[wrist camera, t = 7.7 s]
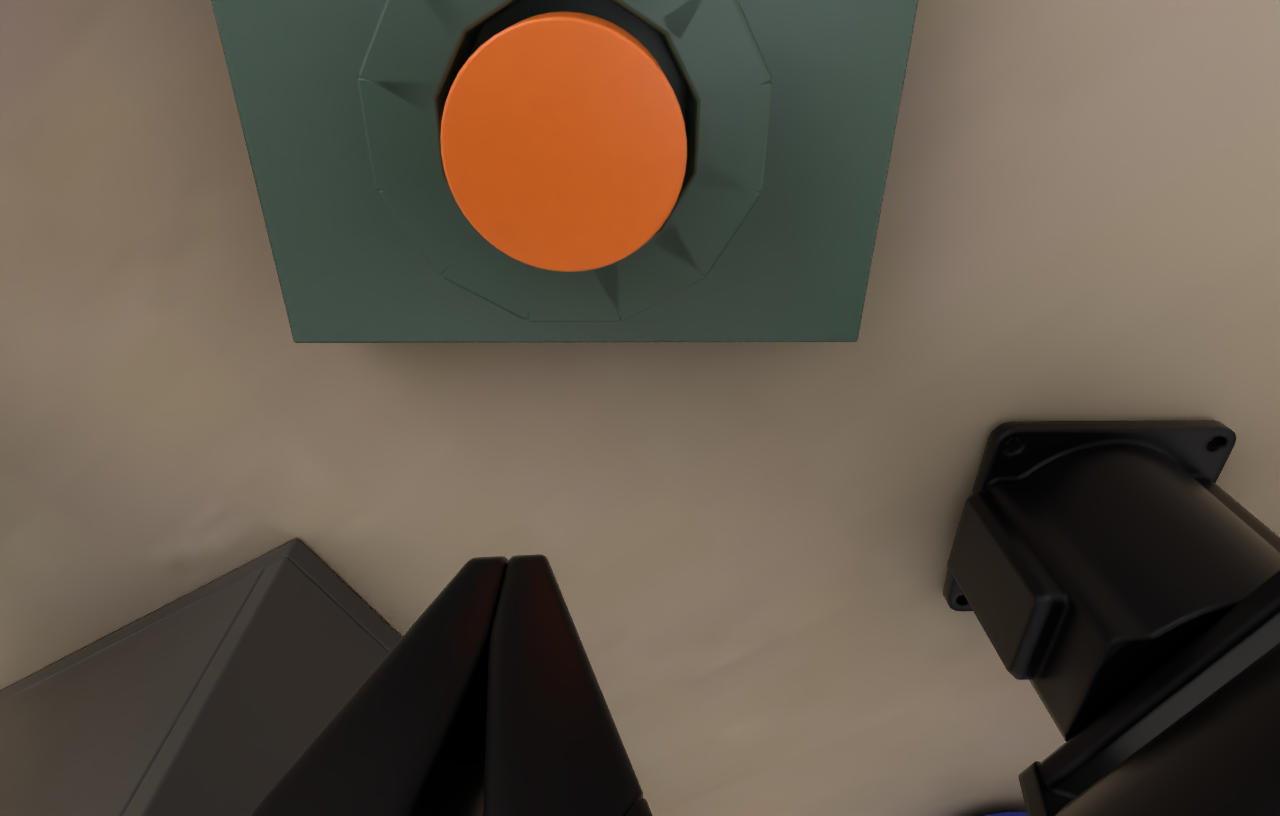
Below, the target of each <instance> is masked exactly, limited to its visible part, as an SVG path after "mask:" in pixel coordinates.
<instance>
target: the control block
mask: <svg viewBox="0 0 1280 816" xmlns="http://www.w3.org/2000/svg"><path fill="white" fill-rule="evenodd" d="M212 4H213V9H214V13H215V17H216V21H217V25H218V29H219V33H220V37H221V42H222V46H223V50H224V54H225V58H226V62H227V66H228V71H229V75H230V79H231V83H232V87H233V91H234V95H235V100H236V104H237V108H238V112H239V116H240V120H241V124H242V128H243V133H244V137H245V141H246V145H247V149H248V153H249V157H250V162H251V166H252V170H253V174H254V178H255V182H256V186H257V191H258V195H259V199H260V203H261V207H262V211H263V215H264V219H265V224H266V228H267V232H268V236H269V240H270V244H271V248H272V253H273V257H274V261H275V265H276V269H277V273H278V277H279V282H280V286H281V290H282V294H283V298H284V302H285V306H286V310H287V315H288V319H289V323H290V327H291V331H292V335H293V339H294V342H296V343H381V342H856V341H857V339H858V334H859V328H860V323H861V317H862V312H863V306H864V300H865V295H866V289H867V284H868V278H869V273H870V267H871V261H872V256H873V250H874V245H875V239H876V234H877V228H878V222H879V217H880V211H881V206H882V200H883V194H884V189H885V183H886V178H887V172H888V167H889V161H890V155H891V150H892V144H893V139H894V133H895V128H896V122H897V116H898V111H899V105H900V100H901V94H902V88H903V83H904V77H905V72H906V66H907V61H908V55H909V49H910V44H911V38H912V33H913V27H914V22H915V16H916V10H917V5H918V0H212ZM558 11H571V12H582V13H586V14H590V15H594V16H598V17H600V18H603V19H605V20H608V21H610V22H612V23H614V24H616V25H618V26H619V27H621V28H623V29H625V30H626V31H627V32H629V33H630V34H631V35H633V36H634V37H635V38H636V39H638V40H639V41H640V42H641V43H642V44H643V45H644V46H645V47H646V48H647V49H648V51H649V52H650V53H651V54H652V56H653V57H654V58H655V60H656V61H657V62H658V64H659V66H660V67H661V69H662V71H663V73H664V74H665V76H666V78H667V80H668V81H669V83H670V85H671V87H672V88H673V90H674V93H675V95H676V98H677V100H678V102H679V105H680V108H681V112H682V115H683V119H684V122H685V129H686V136H687V162H686V171H685V176H684V180H683V184H682V188H681V191H680V193H679V196H678V199H677V201H676V204H675V205H674V207H673V209H672V211H671V213H670V215H669V217H668V218H667V219H666V221H665V222H664V224H663V225H662V226H661V228H660V229H659V230H658V231H657V232H656V234H655V235H654V236H653V237H652V238H651V239H650V240H649V241H648V242H647V243H645V244H644V245H643V246H642V247H641V248H639V249H638V250H637V251H635V252H633V253H632V254H630V255H629V256H627V257H626V258H624V259H621V260H619V261H617V262H615V263H613V264H610V265H607V266H604V267H601V268H598V269H592V270H587V271H577V272H561V271H551V270H546V269H541V268H537V267H534V266H531V265H528V264H525V263H523V262H520V261H518V260H516V259H514V258H512V257H510V256H508V255H507V254H505V253H503V252H502V251H500V250H498V249H497V248H496V247H495V246H493V245H492V244H491V243H489V242H488V241H487V240H486V239H485V238H484V237H483V236H482V235H481V234H480V233H479V232H478V231H477V230H476V229H475V228H474V227H473V226H472V225H471V223H470V222H469V221H468V219H467V218H466V217H465V216H464V214H463V212H462V211H461V209H460V207H459V206H458V204H457V202H456V201H455V198H454V196H453V194H452V192H451V189H450V187H449V185H448V181H447V178H446V175H445V172H444V167H443V162H442V156H441V142H440V133H441V120H442V115H443V111H444V106H445V102H446V99H447V96H448V94H449V91H450V88H451V86H452V84H453V82H454V80H455V78H456V76H457V74H458V72H459V71H460V69H461V68H462V67H463V65H464V64H465V63H466V61H467V60H468V58H469V57H470V56H471V55H472V54H473V53H474V52H475V51H476V50H477V49H478V48H479V47H480V46H481V45H482V44H483V43H485V42H486V41H487V40H489V39H490V38H491V37H493V36H494V35H496V34H497V33H499V32H501V31H503V30H505V29H506V28H508V27H510V26H512V25H514V24H516V23H518V22H520V21H521V20H524V19H527V18H529V17H532V16H535V15H539V14H543V13H548V12H558Z"/></svg>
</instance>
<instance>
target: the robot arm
mask: <svg viewBox="0 0 1280 816" xmlns="http://www.w3.org/2000/svg"><path fill="white" fill-rule="evenodd" d="M1012 438H1016V439H1015V441H1014V442H1013V443H1011V444H1010V445H1006V446H1005V444H1006V442H1007V441H1009V440H1010V439H1012ZM1213 438H1214V439H1213ZM1212 439H1213V440H1212ZM1210 440H1212V441H1210ZM1209 441H1210V442H1209ZM1235 441H1236V435H1235V433H1234V432H1233V431H1232V430H1231V429H1229V428H1228V427H1226V426H1225V425H1224V424H1222V423H1221V422H1219V421H1214V420H1212V421H1043V422H1007V423H1003V424H1001V425H999V426H997V427H996V428H995V429H994V430H993V431H992V432H991V434H990V436H989V438H988V442H987V445H986V448H985V452H984V455H983V458H982V462H981V465H980V468H979V472H978V475H977V478H976V482H975V485H974V488H973V492H972V494H971V495H970V496H969V498H968V499H967V500H966V503H965V506H964V510H963V513H962V516H961V520H960V523H959V527H958V530H957V533H956V537H955V540H954V543H953V547H952V550H951V554H950V557H949V560H948V568H949V572H948V575H947V579H946V582H945V585H944V589H943V595H944V597H945V599H946V601H947V603H948V605H949V606H950V608H951V609H953V610H955V611H974V613H975V615H976V616H977V618H978V620H979V622H980V623H981V625H982V627H983V629H984V630H985V632H986V634H987V636H988V637H989V639H990V641H991V643H992V644H993V646H994V648H995V650H996V651H997V653H998V655H999V657H1000V658H1001V660H1002V662H1003V664H1004V665H1005V667H1006V669H1007V670H1008V671H1009V672H1010V673H1011V674H1012V675H1013V676H1014V677H1015V678H1016V679H1019V680H1027V679H1029V680H1030V682H1031V684H1032V685H1033V687H1034V689H1035V690H1036V692H1037V694H1038V695H1039V697H1040V699H1041V700H1042V702H1043V704H1044V705H1045V707H1046V709H1047V710H1048V712H1049V714H1050V715H1051V717H1052V719H1053V721H1054V722H1055V724H1056V726H1057V727H1058V729H1059V731H1060V732H1061V734H1062V736H1063V737H1064V739H1065V741H1066V743H1065V744H1063V745H1062V746H1061V747H1060V748H1058V749H1057V750H1056V751H1055V752H1053V753H1052V754H1051V755H1050V756H1049V757H1047V758H1046V759H1045V760H1044V761H1042V762H1041V763H1040V762H1034V763H1033V764H1032V765H1030V766H1029V767H1028V768H1027V769H1025V770H1024V771H1023V772H1022V773H1021V774H1019V781H1020V785H1021V789H1022V794H1023V798H1024V802H1025V806H1026V810H1027V815H1028V816H1280V538H1279V537H1278V536H1277V535H1276V534H1275V533H1273V532H1272V531H1271V530H1270V529H1269V528H1267V527H1266V526H1265V525H1264V524H1263V523H1261V522H1260V521H1259V520H1258V519H1257V518H1256V517H1254V516H1253V515H1252V514H1251V513H1250V512H1248V511H1247V510H1246V509H1245V508H1244V507H1242V506H1241V505H1240V504H1239V503H1238V502H1236V501H1235V500H1234V499H1233V498H1232V497H1230V496H1229V495H1228V494H1227V493H1226V492H1225V491H1223V490H1222V489H1221V488H1220V487H1219V486H1217V485H1216V484H1215V483H1216V481H1217V479H1218V477H1219V475H1220V473H1221V471H1222V469H1223V467H1224V465H1225V463H1226V461H1227V459H1228V457H1229V455H1230V453H1231V451H1232V449H1233V447H1234V445H1235ZM961 594H963V595H961ZM251 816H652V813H651V811H650V808H649V806H648V803H647V801H646V800H645V799H644V798H643V793H642V790H641V787H640V785H639V782H638V780H637V777H636V775H635V773H634V770H633V768H632V765H631V763H630V760H629V758H628V755H627V753H626V750H625V748H624V746H623V743H622V741H621V738H620V736H619V733H618V731H617V728H616V726H615V723H614V721H613V719H612V716H611V714H610V711H609V709H608V706H607V704H606V701H605V699H604V696H603V694H602V692H601V689H600V687H599V684H598V682H597V679H596V677H595V674H594V672H593V669H592V667H591V665H590V662H589V660H588V657H587V655H586V652H585V650H584V647H583V645H582V642H581V640H580V638H579V635H578V633H577V630H576V628H575V625H574V623H573V620H572V618H571V616H570V613H569V611H568V608H567V606H566V603H565V601H564V598H563V596H562V593H561V591H560V589H559V586H558V584H557V581H556V579H555V576H554V574H553V571H552V569H551V566H550V564H549V562H548V559H547V558H546V557H545V556H544V555H521V556H513V557H511V558H510V559H509V561H508V560H507V559H506V558H505V557H502V556H500V557H479V558H473V559H471V560H469V561H468V562H467V563H466V564H465V565H464V566H463V568H462V569H461V570H460V571H459V572H458V573H457V575H456V576H455V577H454V578H453V579H452V580H451V582H450V583H449V584H448V585H447V586H446V587H445V588H444V590H443V591H442V592H441V593H440V594H439V595H438V597H437V598H436V599H435V600H434V601H433V602H432V604H431V605H430V606H429V607H428V608H427V609H426V611H425V612H424V613H423V614H422V615H421V616H420V617H419V619H418V620H417V621H416V622H415V623H414V624H413V626H412V627H411V628H410V629H409V630H408V631H407V633H406V634H405V635H404V636H403V637H402V638H401V639H400V641H399V642H398V643H397V644H396V645H395V646H394V648H393V649H392V650H391V651H390V652H389V653H388V655H387V656H386V657H385V658H384V659H383V660H382V661H381V663H380V664H379V665H378V666H377V667H376V668H375V670H374V671H373V672H372V673H371V674H370V675H369V677H368V678H367V679H366V680H365V681H364V682H363V684H362V685H361V686H360V687H359V688H358V689H357V690H356V692H355V693H354V694H353V695H352V696H351V697H350V699H349V700H348V701H347V702H346V703H345V704H344V706H343V707H342V708H341V709H340V710H339V711H338V712H337V714H336V715H335V716H334V717H333V718H332V719H331V721H330V722H329V723H328V724H327V725H326V726H325V728H324V729H323V730H322V731H321V732H320V733H319V734H318V736H317V737H316V738H315V739H314V740H313V741H312V743H311V744H310V745H309V746H308V747H307V748H306V750H305V751H304V752H303V753H302V754H301V755H300V756H299V758H298V759H297V760H296V761H295V762H294V763H293V765H292V766H291V767H290V768H289V769H288V770H287V772H286V773H285V774H284V775H283V776H282V777H281V779H280V780H279V781H278V782H277V783H276V784H275V785H274V787H273V788H272V789H271V790H270V791H269V792H268V794H267V795H266V796H265V797H264V798H263V799H262V801H261V802H260V803H259V804H258V805H257V806H256V807H255V809H254V810H253V811H252V812H251Z"/></svg>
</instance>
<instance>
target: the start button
mask: <svg viewBox="0 0 1280 816" xmlns="http://www.w3.org/2000/svg"><path fill="white" fill-rule="evenodd" d="M440 142H441V156H442V162H443V167H444V172H445V175H446V178H447V181H448V185H449V187H450V189H451V192H452V194H453V196H454V198H455V201H456V202H457V204H458V206H459V207H460V209H461V211H462V212H463V214H464V216H465V217H466V218H467V219H468V221H469V222H470V223H471V225H472V226H473V227H474V228H475V229H476V230H477V231H478V232H479V233H480V234H481V235H482V236H483V237H484V238H485V239H486V240H487V241H488V242H489V243H491V244H492V245H493V246H495V247H496V248H497V249H498V250H500V251H502V252H503V253H505V254H507V255H508V256H510V257H512V258H514V259H516V260H518V261H520V262H523V263H525V264H528V265H531V266H534V267H537V268H541V269H546V270H551V271H561V272H577V271H587V270H592V269H598V268H601V267H604V266H607V265H610V264H613V263H615V262H617V261H619V260H621V259H624V258H626V257H627V256H629V255H630V254H632V253H633V252H635V251H637V250H638V249H639V248H641V247H642V246H643V245H644V244H645V243H647V242H648V241H649V240H650V239H651V238H652V237H653V236H654V235H655V234H656V232H657V231H658V230H659V229H660V228H661V226H662V225H663V224H664V222H665V221H666V219H667V218H668V217H669V215H670V213H671V211H672V209H673V207H674V205H675V204H676V201H677V199H678V196H679V193H680V191H681V188H682V184H683V180H684V176H685V171H686V162H687V136H686V129H685V122H684V119H683V115H682V112H681V108H680V105H679V102H678V100H677V98H676V95H675V93H674V90H673V88H672V87H671V85H670V83H669V81H668V80H667V78H666V76H665V74H664V73H663V71H662V69H661V67H660V66H659V64H658V62H657V61H656V60H655V58H654V57H653V56H652V54H651V53H650V52H649V51H648V49H647V48H646V47H645V46H644V45H643V44H642V43H641V42H640V41H639V40H638V39H636V38H635V37H634V36H633V35H631V34H630V33H629V32H627V31H626V30H625V29H623V28H621V27H619V26H618V25H616V24H614V23H612V22H610V21H608V20H605V19H603V18H600V17H598V16H594V15H590V14H586V13H582V12H571V11H558V12H548V13H543V14H539V15H535V16H532V17H529V18H527V19H524V20H521V21H520V22H518V23H516V24H514V25H512V26H510V27H508V28H506V29H505V30H503V31H501V32H499V33H497V34H496V35H494V36H493V37H491V38H490V39H489V40H487V41H486V42H485V43H483V44H482V45H481V46H480V47H479V48H478V49H477V50H476V51H475V52H474V53H473V54H472V55H471V56H470V57H469V58H468V60H467V61H466V63H465V64H464V65H463V67H462V68H461V69H460V71H459V72H458V74H457V76H456V78H455V80H454V82H453V84H452V86H451V88H450V91H449V94H448V96H447V99H446V102H445V106H444V111H443V115H442V120H441V133H440Z"/></svg>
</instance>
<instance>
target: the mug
mask: <svg viewBox="0 0 1280 816" xmlns="http://www.w3.org/2000/svg"><path fill="white" fill-rule="evenodd" d="M985 816H1028V815H1027V812H1002V813H995V814H989V815H985Z"/></svg>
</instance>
